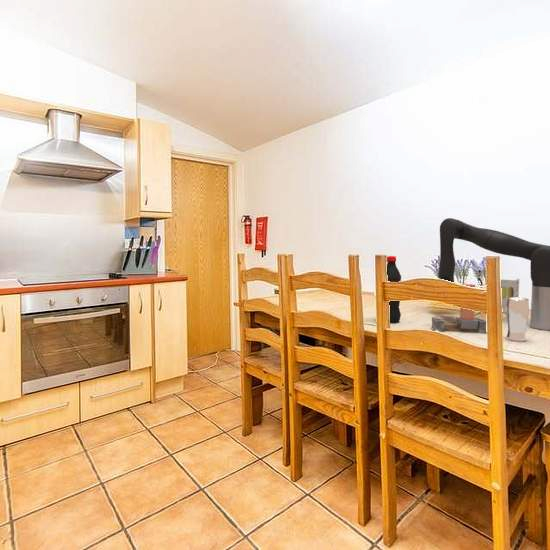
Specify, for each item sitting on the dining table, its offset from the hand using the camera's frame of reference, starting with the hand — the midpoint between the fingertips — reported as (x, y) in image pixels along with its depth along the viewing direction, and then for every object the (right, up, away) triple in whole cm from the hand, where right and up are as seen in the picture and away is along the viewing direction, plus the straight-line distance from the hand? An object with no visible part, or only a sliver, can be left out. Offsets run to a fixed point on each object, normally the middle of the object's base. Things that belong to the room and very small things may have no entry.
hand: (466, 303), depth 145 cm
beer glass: (+11, -12, -14) cm, 21 cm away
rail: (-3, -11, 0) cm, 12 cm away
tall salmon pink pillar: (0, -10, -1) cm, 10 cm away
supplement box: (+38, -7, +35) cm, 52 cm away
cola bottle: (-25, -10, +19) cm, 32 cm away
